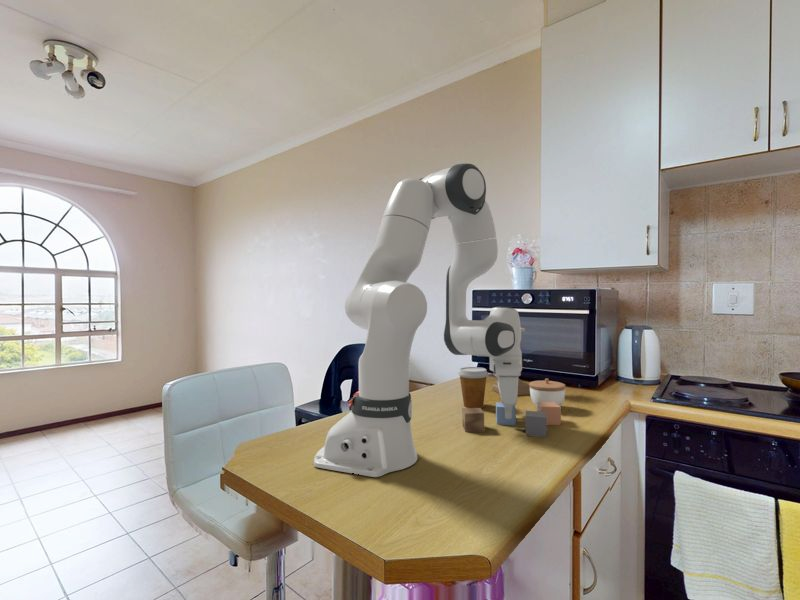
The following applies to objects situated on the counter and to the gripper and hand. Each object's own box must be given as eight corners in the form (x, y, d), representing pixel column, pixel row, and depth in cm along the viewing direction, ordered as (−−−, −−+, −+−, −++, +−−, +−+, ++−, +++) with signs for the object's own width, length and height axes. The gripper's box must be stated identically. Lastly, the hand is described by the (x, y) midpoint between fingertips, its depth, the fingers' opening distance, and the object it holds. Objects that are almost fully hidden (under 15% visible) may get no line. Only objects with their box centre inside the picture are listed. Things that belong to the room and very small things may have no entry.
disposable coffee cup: (478, 400, 133) (478, 365, 133) (494, 408, 124) (493, 370, 124) (453, 403, 130) (453, 367, 130) (467, 411, 121) (466, 372, 121)
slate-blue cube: (497, 424, 108) (496, 406, 108) (496, 419, 113) (495, 402, 113) (515, 425, 107) (515, 407, 107) (513, 420, 112) (513, 402, 112)
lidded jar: (572, 409, 121) (572, 379, 121) (552, 415, 115) (551, 383, 115) (543, 402, 130) (542, 374, 130) (522, 407, 124) (522, 378, 124)
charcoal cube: (525, 435, 99) (525, 416, 99) (526, 429, 104) (525, 410, 104) (546, 437, 97) (546, 417, 97) (545, 431, 102) (545, 412, 102)
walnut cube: (465, 432, 102) (464, 413, 102) (462, 426, 107) (462, 408, 107) (484, 432, 102) (484, 413, 102) (480, 426, 107) (480, 407, 107)
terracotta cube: (542, 424, 107) (541, 406, 107) (537, 419, 112) (537, 402, 112) (561, 425, 107) (560, 406, 107) (555, 419, 112) (555, 402, 112)
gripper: (492, 358, 121) (493, 402, 121) (495, 370, 100) (497, 423, 101) (513, 358, 119) (514, 403, 119) (521, 370, 99) (522, 424, 99)
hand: (506, 412), depth 110 cm, fingers open, 8 cm apart
